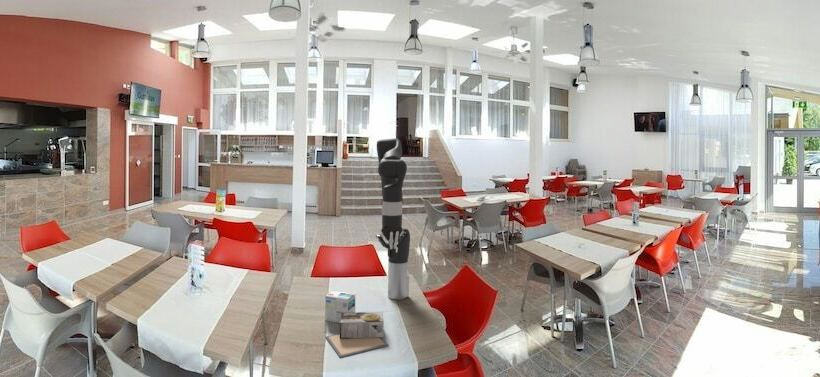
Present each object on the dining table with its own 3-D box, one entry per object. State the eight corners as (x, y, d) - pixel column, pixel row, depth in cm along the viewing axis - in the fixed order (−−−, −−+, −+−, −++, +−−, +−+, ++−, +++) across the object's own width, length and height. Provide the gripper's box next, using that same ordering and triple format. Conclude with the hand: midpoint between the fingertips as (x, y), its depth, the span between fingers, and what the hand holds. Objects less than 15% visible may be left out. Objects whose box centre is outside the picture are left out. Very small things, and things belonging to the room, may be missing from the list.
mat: (370, 327, 153) (370, 326, 153) (388, 345, 140) (388, 344, 140) (325, 337, 145) (325, 336, 145) (339, 357, 131) (339, 356, 131)
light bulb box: (355, 318, 162) (356, 293, 161) (348, 325, 155) (348, 299, 154) (333, 314, 165) (333, 289, 164) (324, 321, 159) (324, 295, 158)
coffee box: (382, 327, 153) (341, 328, 152) (383, 311, 153) (341, 312, 151) (383, 338, 144) (339, 339, 143) (383, 321, 144) (339, 322, 142)
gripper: (402, 210, 153) (402, 253, 155) (371, 212, 147) (371, 257, 148) (412, 213, 147) (411, 258, 149) (380, 215, 140) (380, 263, 142)
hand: (391, 258), depth 148 cm, fingers closed
